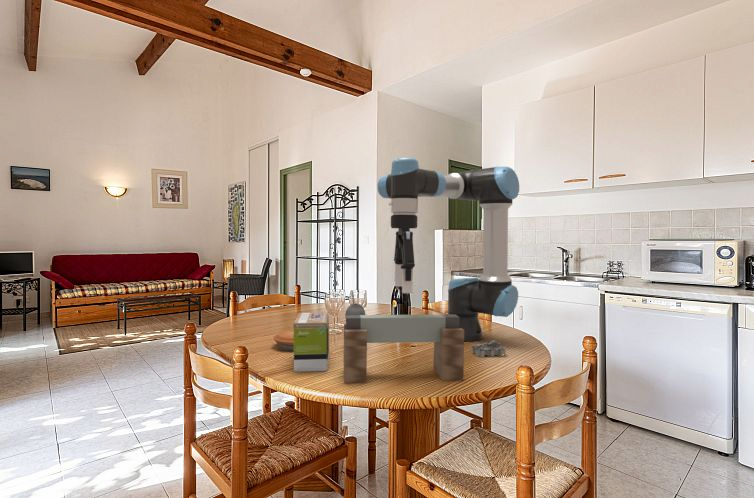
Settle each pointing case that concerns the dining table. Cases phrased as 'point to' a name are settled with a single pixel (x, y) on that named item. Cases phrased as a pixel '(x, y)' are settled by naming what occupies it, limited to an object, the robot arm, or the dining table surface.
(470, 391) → the dining table surface
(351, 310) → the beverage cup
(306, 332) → the tea box
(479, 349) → the egg carton
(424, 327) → the bed rail
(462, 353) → the posts
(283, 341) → the pie
